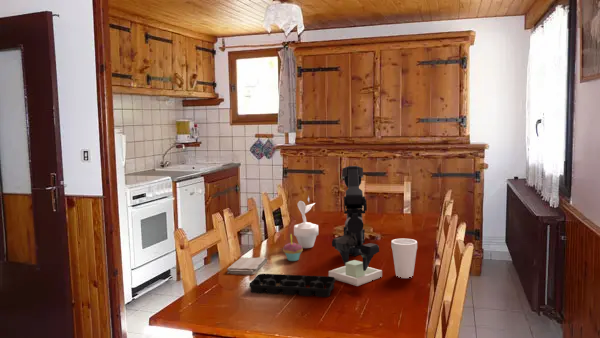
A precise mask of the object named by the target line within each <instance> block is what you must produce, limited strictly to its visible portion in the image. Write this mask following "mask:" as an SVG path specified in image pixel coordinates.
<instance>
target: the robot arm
mask: <svg viewBox="0 0 600 338" xmlns="http://www.w3.org/2000/svg"><path fill="white" fill-rule="evenodd" d="M363 178H364V168H363V167H361V166H359V165H347V166H345V167H343V168H342V179H343V180H344V185H345V186H346V188H347V189H346V190H345V196H343V214H345V215H346V220H345V221H344V226H343V235H342V236H341V235H340V236H339V237H334V238H333V239H332V241H331V247H332V248H333V247H334V249H335V250H336V251H338V252H339V255H340V256H341V259H342V263H343V265H344V266H346V265H345V263H346V262H349V256H353V257H355V256H358V255H360V256H361V257H362V262H363V271H366V269H367V267H369V265H370V263H371V260H372V259H373V258H374V257H373V256H375V255H376V254H378V253H380V246H379V245H378V244H377V243H372V242H370V243H366V240H365V232H366V231H365V229H364V220H363V214H366V212H367V208H368V207H367V199H366V197H365V196H364V195H363V194H364V193H363V190H362V189H361V188H360V186H361V184H362V179H363Z"/></svg>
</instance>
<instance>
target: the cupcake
mask: <svg viewBox="0 0 600 338" xmlns="http://www.w3.org/2000/svg"><path fill="white" fill-rule="evenodd" d="M289 237H290V242H288V243H286V244H285V245H284V246H283V247H282V252H283V253H284V255H285V256H286V260H288V261H290V262H296V261H299V259H300V257H301V254H302V252H303V249H304V248H303V247H302V246H301V245H299V243H298V242H293V234H292V233H290V236H289Z"/></svg>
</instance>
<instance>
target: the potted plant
mask: <svg viewBox="0 0 600 338" xmlns="http://www.w3.org/2000/svg"><path fill="white" fill-rule="evenodd" d="M310 200H311V198H310V196H309V194H308V197H307V201H308V203H310ZM315 204H316V202H314V203H310V204H306V203H305V202H304V201H302V200H299V201H298V202H297V204H296V205H297V208H298V210H299V211H300V214H301V217H302V222H301V223H298V224H297V223H296V224H294V225H293V236H295V238H296V241H297V243H298V244H299V245H301V246H302V247H303V248H302V249H310V248H313V247H314V246H315V242H316V239H317V236H319V224H316V223H312V222H308V221H307V217H306V214H307V213H308V212H310V211H311V209H312V208H313V206H314V205H315Z"/></svg>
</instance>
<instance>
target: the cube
mask: <svg viewBox="0 0 600 338" xmlns="http://www.w3.org/2000/svg"><path fill="white" fill-rule="evenodd" d="M345 265H346V275H348V276H352V277H355V278H358V277H361V276H364V275H365V271H363V261H360V260H356V259H353V260H348V262H346V263H345ZM345 265H344V266H345Z"/></svg>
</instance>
